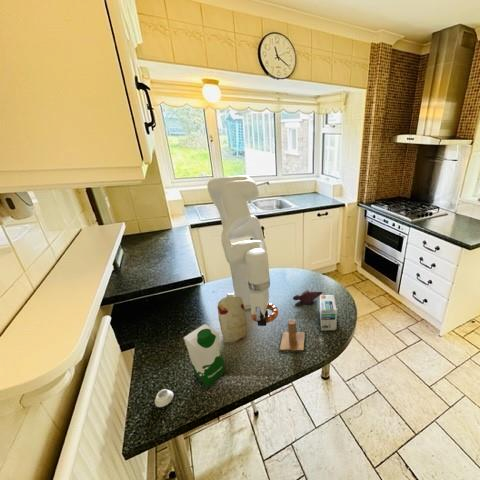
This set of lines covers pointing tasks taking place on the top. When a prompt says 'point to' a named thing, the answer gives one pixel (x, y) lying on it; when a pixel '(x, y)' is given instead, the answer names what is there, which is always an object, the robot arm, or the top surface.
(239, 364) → the top surface
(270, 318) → the ring
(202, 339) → the milk carton
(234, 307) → the food model
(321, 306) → the light bulb box
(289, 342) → the stand
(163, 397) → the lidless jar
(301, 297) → the dinosaur toy
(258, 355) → the top surface
